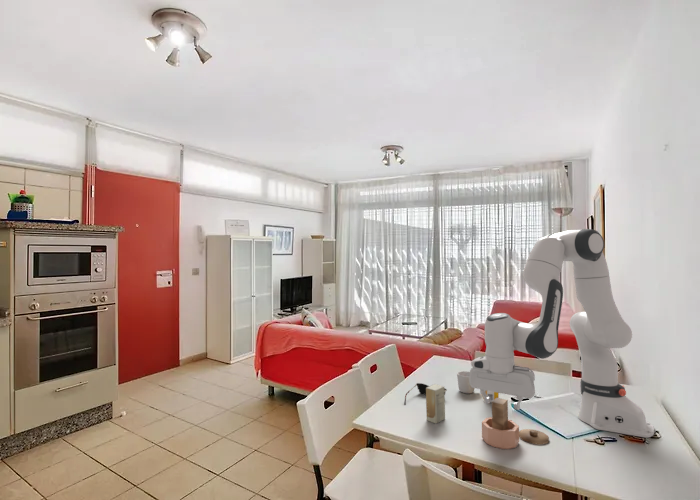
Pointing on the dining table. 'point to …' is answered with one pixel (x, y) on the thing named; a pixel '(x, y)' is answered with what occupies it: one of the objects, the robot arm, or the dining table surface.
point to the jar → (500, 435)
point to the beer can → (492, 395)
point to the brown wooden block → (500, 414)
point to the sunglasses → (420, 389)
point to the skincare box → (435, 403)
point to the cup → (464, 382)
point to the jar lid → (533, 436)
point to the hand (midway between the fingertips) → (501, 405)
